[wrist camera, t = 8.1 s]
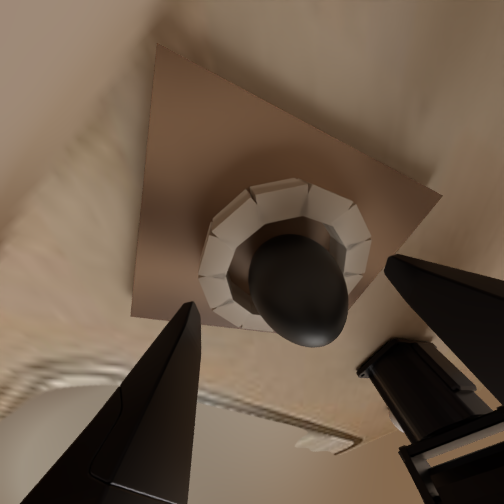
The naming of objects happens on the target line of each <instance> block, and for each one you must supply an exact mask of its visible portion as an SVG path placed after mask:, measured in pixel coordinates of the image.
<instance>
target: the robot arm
mask: <svg viewBox="0 0 504 504" xmlns="http://www.w3.org/2000/svg"><path fill="white" fill-rule="evenodd" d="M384 273H385V275H386V277H387V278H388V279H389V280H390V282H391V283H392V284H393V286H394V287H395V288H396V289H397V291H398V292H399V293H400V295H401V296H402V297H403V298H404V300H405V301H406V302H407V303H408V304H409V306H410V307H411V308H412V309H413V310H414V311H415V312H416V313H417V314H418V315H419V316H420V317H421V318H422V320H423V321H424V322H425V323H426V324H427V325H428V326H429V327H430V328H431V329H432V330H433V331H434V332H435V333H436V335H437V336H438V337H439V338H440V339H441V340H442V341H443V342H444V343H445V344H446V345H447V346H448V347H449V348H450V349H451V351H452V352H453V353H454V354H455V355H456V356H457V357H458V358H459V359H460V360H461V361H462V362H463V363H464V364H465V366H466V367H467V368H468V369H469V370H470V371H471V372H472V373H473V374H474V375H475V376H476V377H477V378H478V379H479V381H480V382H481V383H482V384H483V385H484V386H485V387H486V388H487V389H488V390H489V391H490V392H491V393H492V394H493V395H494V396H495V398H496V399H497V400H498V401H499V402H500V403H501V404H502V406H499V407H497V410H495V411H493V410H492V409H491V408H490V407H489V406H488V405H487V404H486V403H485V402H484V401H482V399H481V398H480V397H478V396H477V395H476V394H475V393H474V391H476V390H477V389H476V386H475V385H474V384H473V383H472V382H471V381H470V380H469V379H468V378H467V377H466V376H465V375H464V374H463V373H462V372H461V371H460V370H458V369H457V368H456V367H455V366H454V365H453V364H452V363H451V362H450V361H449V360H448V359H447V358H446V357H445V356H444V355H443V354H442V353H440V352H439V351H438V350H437V349H436V348H437V347H436V346H435V345H434V344H433V343H429V342H422V341H414V340H407V339H399V338H395V339H392V340H391V341H390V342H388V343H387V344H386V345H385V346H384V347H383V348H382V349H381V350H380V351H379V352H378V353H377V354H375V355H374V356H373V357H372V358H371V359H370V360H369V361H368V362H367V363H366V364H365V365H364V366H363V367H361V368H360V369H359V370H358V371H357V372H356V373H357V375H358V377H359V378H370V380H371V381H372V383H373V384H374V386H375V388H376V389H377V391H378V392H379V394H380V395H381V397H382V399H383V400H384V402H385V403H386V405H387V406H388V408H389V409H390V411H391V413H392V414H393V416H394V417H395V419H396V420H397V422H398V424H399V425H400V427H401V428H402V430H403V431H404V433H405V434H406V436H407V438H408V439H409V440H410V442H411V445H408V446H405V445H404V446H401V447H399V450H400V451H399V452H398V453H399V455H400V456H401V458H402V460H403V462H404V463H405V465H406V467H407V469H408V471H409V473H410V475H411V477H412V479H413V481H414V483H415V485H416V487H417V489H418V490H419V493H420V495H421V497H422V499H423V502H424V504H504V441H503V442H500V443H497V444H494V445H492V446H489V447H486V448H483V449H481V450H478V451H475V452H472V453H469V454H467V455H464V456H461V457H458V458H456V459H453V460H450V461H447V462H445V463H442V464H439V465H436V466H433V467H430V465H429V464H428V462H427V461H426V460H427V459H429V458H432V457H435V456H437V455H440V454H443V453H445V452H448V451H451V450H453V449H456V448H459V447H462V446H464V445H467V444H470V443H472V442H475V441H477V440H480V439H483V438H486V437H488V436H491V435H494V434H496V433H499V432H502V431H504V281H503V280H499V279H495V278H491V277H487V276H483V275H479V274H475V273H471V272H468V271H464V270H460V269H456V268H452V267H448V266H444V265H440V264H436V263H432V262H428V261H424V260H420V259H416V258H412V257H408V256H404V255H400V254H396V255H392V256H389V257H388V258H387V261H386V265H385V269H384ZM200 361H201V317H200V313H199V311H198V308H197V306H196V304H195V302H194V301H190V302H186V303H184V304H183V305H182V306H181V307H180V308H179V310H178V311H177V312H176V314H175V315H174V316H173V317H172V319H171V320H170V321H169V323H168V324H167V325H166V326H165V328H164V329H163V330H162V332H161V333H160V334H159V335H158V337H157V338H156V339H155V341H154V342H153V343H152V344H151V346H150V347H149V348H148V350H147V351H146V352H145V353H144V355H143V356H142V357H141V359H140V360H139V361H138V362H137V364H136V365H135V366H134V368H133V369H132V370H131V371H130V373H129V374H128V375H127V377H126V378H125V379H124V380H123V382H122V383H121V385H120V387H118V388H117V389H116V391H115V392H114V393H113V394H112V396H111V397H110V398H109V400H108V401H107V402H106V403H105V405H104V406H103V407H102V409H101V410H100V411H99V412H98V413H97V415H96V416H95V417H94V418H93V420H92V421H91V422H90V423H89V424H88V426H87V427H86V428H85V429H84V430H83V431H82V433H81V434H80V435H79V436H78V437H77V438H76V440H75V441H74V442H73V443H72V444H71V445H70V447H69V448H68V449H67V450H66V451H65V452H64V453H63V455H62V456H61V457H60V458H59V459H58V460H57V462H56V463H55V464H54V465H53V466H52V467H51V468H50V470H49V471H48V472H47V473H46V474H45V475H44V476H43V478H42V479H41V480H40V481H39V483H38V484H37V485H36V486H35V487H34V488H33V489H32V490H31V491H30V492H29V494H28V495H27V496H26V497H25V498H24V499H23V501H22V502H21V503H20V504H187V501H188V491H189V480H190V469H191V458H192V447H193V436H194V426H195V415H196V404H197V394H198V383H199V372H200Z"/></svg>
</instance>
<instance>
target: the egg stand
mask: <svg viewBox="0 0 504 504" xmlns="http://www.w3.org/2000/svg"><path fill="white" fill-rule="evenodd" d="M441 197H442V195H441V194H439V193H437V192H435V191H433V190H431V189H429V188H427V187H426V186H424V185H422V184H420V183H418V182H416V181H414V180H413V179H411V178H409V177H407V176H405V175H403V174H401V173H399V172H398V171H396V170H394V169H392V168H390V167H388V166H386V165H384V164H383V163H381V162H379V161H377V160H375V159H373V158H371V157H369V156H368V155H366V154H364V153H362V152H360V151H358V150H356V149H355V148H353V147H351V146H349V145H347V144H345V143H343V142H341V141H340V140H338V139H336V138H334V137H332V136H330V135H328V134H326V133H325V132H323V131H321V130H319V129H317V128H315V127H313V126H311V125H310V124H308V123H306V122H304V121H302V120H300V119H298V118H297V117H295V116H293V115H291V114H289V113H287V112H285V111H283V110H282V109H280V108H278V107H276V106H274V105H272V104H270V103H268V102H267V101H265V100H263V99H261V98H259V97H257V96H255V95H253V94H252V93H250V92H248V91H246V90H244V89H242V88H240V87H239V86H237V85H235V84H233V83H231V82H229V81H227V80H225V79H224V78H222V77H220V76H218V75H216V74H214V73H212V72H210V71H209V70H207V69H205V68H203V67H201V66H199V65H197V64H195V63H194V62H192V61H190V60H188V59H186V58H184V57H182V56H180V55H179V54H177V53H175V52H173V51H171V50H169V49H167V48H166V47H164V46H162V45H160V44H158V43H157V48H156V58H155V69H154V79H153V89H152V100H151V110H150V120H149V131H148V141H147V151H146V162H145V172H144V182H143V193H142V203H141V213H140V223H139V234H138V244H137V254H136V265H135V275H134V285H133V296H132V306H131V317H140V318H149V319H158V320H166V321H170V320H171V319H172V317H173V316H174V315H175V314H176V312H177V311H178V310H179V308H180V307H181V306H182V305H183V304H184V303H186V302H190V301H194V302H195V304H196V306H197V308H198V311H199V313H200V317H201V324H202V325H210V326H219V327H228V328H237V329H245V330H254V331H263V332H272V333H276V332H275V331H274V330H273V329H272V328H271V327H270V326H269V325H268V324H267V323H266V322H265V321H264V319H263V318H262V317H261V315H260V314H259V312H258V311H257V309H256V307H255V305H254V303H253V300H252V298H251V294H250V290H249V284H248V272H249V267H250V263H251V260H252V258H253V256H254V254H255V253H256V251H257V250H258V249H259V247H260V246H261V245H262V244H264V243H265V242H266V241H268V240H269V239H271V238H273V237H276V236H279V235H284V234H296V235H302V236H305V237H308V238H310V239H312V240H314V241H316V242H317V243H319V244H320V245H322V246H323V247H324V248H325V249H326V250H327V251H328V252H329V253H330V254H331V255H332V256H333V258H334V259H335V260H336V262H337V264H338V265H339V267H340V269H341V271H342V273H343V276H344V279H345V282H346V285H347V290H348V299H349V305H348V310H349V309H350V307H351V306H352V305H353V304H354V303H355V301H356V300H357V299H358V298H359V297H360V295H361V294H362V293H363V292H364V290H365V289H366V288H367V287H368V286H369V284H370V283H371V282H372V281H373V280H374V278H375V277H376V276H377V275H378V274H379V272H380V271H381V270H382V269H383V268H384V266H385V265H386V261H387V258H388V257H389V256H392V255H394V254H395V253H396V252H397V251H398V249H399V248H400V247H401V246H402V245H403V243H404V242H405V241H406V240H407V239H408V237H409V236H410V235H411V234H412V232H413V231H414V230H415V229H416V228H417V226H418V225H419V224H420V223H421V222H422V220H423V219H424V218H425V217H426V216H427V214H428V213H429V212H430V211H431V209H432V208H433V207H434V206H435V205H436V203H437V202H438V201H439V200H440V199H441Z"/></svg>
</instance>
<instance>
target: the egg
mask: <svg viewBox="0 0 504 504" xmlns="http://www.w3.org/2000/svg"><path fill="white" fill-rule="evenodd" d="M248 284H249V290H250V294H251V298H252V300H253V303H254V305H255V307H256V309H257V311H258V312H259V314H260V315H261V317H262V318H263V319H264V321H265V322H266V323H267V324H268V325H269V326H270V327H271V328H272V329H273V330H274V331H275V332H276V333H278V334H279V335H280V336H282V337H283V338H285V339H287V340H289V341H291V342H293V343H295V344H298V345H301V346H305V347H322V346H325V345H327V344H329V343H331V342H332V341H334V340H335V339H336V338H337V337H338V336H339V334H340V333H341V331H342V329H343V327H344V325H345V322H346V319H347V314H348V305H349V299H348V290H347V285H346V282H345V279H344V276H343V273H342V271H341V269H340V267H339V265H338V264H337V262H336V260H335V259H334V258H333V256H332V255H331V254H330V253H329V252H328V251H327V250H326V249H325V248H324V247H323V246H322V245H320V244H319V243H317V242H316V241H314V240H312V239H310V238H308V237H305V236H302V235H296V234H284V235H279V236H276V237H273V238H271V239H269V240H268V241H266V242H265V243H264V244H262V245H261V246H260V247H259V249H258V250H257V251H256V253H255V254H254V256H253V258H252V260H251V263H250V267H249V272H248Z"/></svg>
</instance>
